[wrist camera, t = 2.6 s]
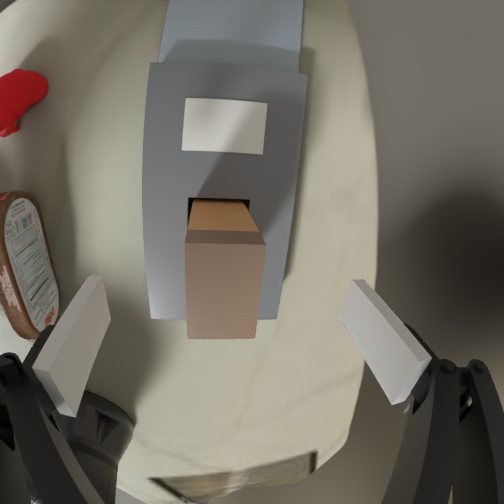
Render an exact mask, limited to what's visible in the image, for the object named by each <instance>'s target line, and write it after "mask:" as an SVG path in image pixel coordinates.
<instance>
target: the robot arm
mask: <svg viewBox="0 0 504 504" xmlns="http://www.w3.org/2000/svg"><path fill="white" fill-rule="evenodd" d="M110 321H111V316H110V311H109V307H108V302H107V297H106V292H105V286H104V280H103V275H89V276H88V278H87V279H86V280H85V282H84V283H83V285H82V286H81V288H80V289H79V291H78V292H77V293H76V295H75V296H74V298H73V299H72V301H71V302H70V304H69V305H68V307H67V309H66V310H65V312H64V313H63V315H62V316H61V318H60V320H59V321H58V323H57V324H56V325H51V324H50V325H48V326H47V327H46V328H45V329H44V330H42V331H41V333H40V335H39V336H38V338H37V340H36V341H35V343H34V344H33V347H32V348H31V349H30V351H29V353H28V355H27V356H26V358H25V360H24V362H23V363H21V361H20V359H19V357H18V355H16V354H15V353H10V352H8V353H4V354H2V355H0V504H115V496H116V483H117V471H118V464H119V461H120V459H121V457H122V456H123V454H124V452H125V450H126V449H127V447H128V445H129V443H130V442H131V439H132V435H133V423H132V421H131V419H130V418H129V417H128V415H127V414H126V413H125V412H123V411H122V410H121V409H120V408H118V407H117V406H115V405H114V404H112V403H111V402H109V401H107V400H105V399H103V398H101V397H99V396H96V395H94V394H91V393H88V392H85V391H84V389H85V386H86V383H87V381H88V378H89V375H90V372H91V369H92V367H93V364H94V361H95V358H96V356H97V353H98V351H99V348H100V346H101V343H102V340H103V338H104V336H105V333H106V331H107V328H108V326H109V324H110ZM341 322H342V323H343V325H344V327H345V328H346V330H347V331H348V333H349V335H350V336H351V338H352V339H353V341H354V343H355V344H356V346H357V347H358V349H359V351H360V352H361V354H362V355H363V357H364V359H365V360H366V362H367V364H368V365H369V367H370V369H371V370H372V372H373V373H374V375H375V377H376V379H377V380H378V382H379V383H380V385H381V387H382V389H383V390H384V392H385V393H386V395H387V397H388V399H389V400H390V402H391V404H392V405H393V404H396V403H400V402H403V401H405V400H406V398H407V397H408V395H409V394H410V392H411V393H412V395H413V399H412V400H411V402H410V403H409V404H408V406H407V407H406V408H405V410H404V413H405V412H406V411H407V410H408V409H409V413H408V417H407V422H406V426H405V430H404V435H403V439H402V442H401V446H400V450H399V453H398V457H397V460H396V463H395V467H394V470H393V473H392V476H391V479H390V482H389V484H388V487H387V490H386V493H385V495H384V498H383V501H382V503H381V504H448V501H449V496H450V491H451V487H452V491H453V504H504V412H503V409H502V405H501V402H500V400H499V397H498V394H497V391H496V388H495V385H494V383H493V380H492V377H491V375H490V372H489V370H488V368H487V366H486V365H485V364H484V363H483V362H482V361H480V360H477V359H473V360H471V361H470V362H469V363H468V365H467V366H466V367H457V366H456V365H455V364H454V363H453V362H452V361H450V360H447V359H438V357H437V356H436V355H435V354H434V352H433V351H432V350H431V349H430V348H429V346H428V345H427V344H426V343H425V342H423V339H422V338H421V337H419V335H418V334H417V332H416V331H415V330H414V329H413V328H411V327H410V326H409V325H407V324H406V323H404V324H403V323H402V322H401V320H400V319H399V318H398V317H397V316H396V315H395V314H394V313H393V312H392V310H391V309H390V308H389V307H388V306H387V305H386V303H385V302H384V301H383V300H382V299H381V298H380V297H379V296H378V295H377V293H376V292H375V291H374V290H373V289H372V288H371V287H370V286H369V285H368V284H367V283H366V282H365V280H352V282H351V286H350V290H349V293H348V297H347V300H346V303H345V307H344V310H343V313H342V316H341ZM470 398H472V404H471V405H470V406H468V403H467V402H468V401H469V400H470Z"/></svg>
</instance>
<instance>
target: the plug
mask: <svg viewBox="0 0 504 504" xmlns="http://www.w3.org/2000/svg"><path fill="white" fill-rule="evenodd" d="M265 252H266V243H265V241H264V240H263V238H262V236H261V234H260V232H259V230H258V228H257V227H256V225H255V223H254V221H253V219H252V217H251V215H250V213H249V212H248V210H247V208H246V206H245V204H244V202H243V201H242V199H226V198H196V197H194V200H193V204H192V209H191V214H190V219H189V223H188V228H187V234H186V239H185V293H186V318H187V336H188V339H250V338H255V334H256V326H257V318H258V310H259V302H260V294H261V286H262V278H263V269H264V261H265Z"/></svg>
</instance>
